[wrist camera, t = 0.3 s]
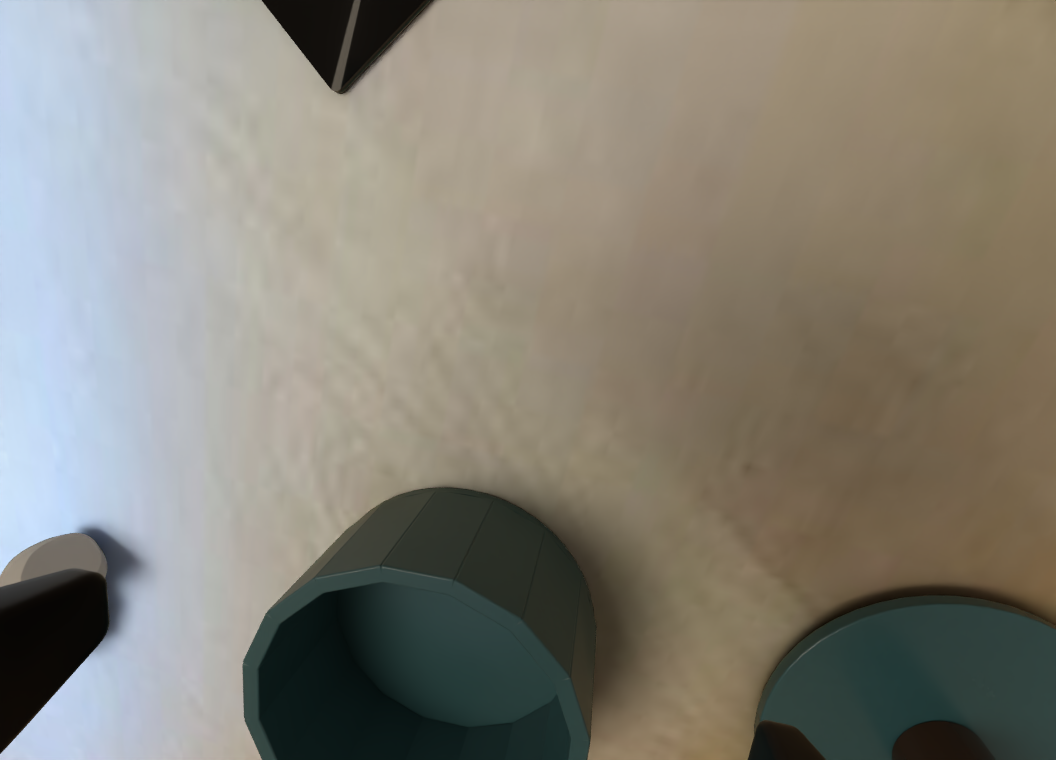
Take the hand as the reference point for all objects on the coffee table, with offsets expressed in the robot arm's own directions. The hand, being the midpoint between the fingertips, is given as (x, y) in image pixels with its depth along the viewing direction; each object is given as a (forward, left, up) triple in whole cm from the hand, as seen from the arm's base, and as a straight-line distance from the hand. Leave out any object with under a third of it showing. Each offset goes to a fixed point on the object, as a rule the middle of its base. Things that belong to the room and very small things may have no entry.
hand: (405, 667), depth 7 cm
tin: (-10, +3, -14) cm, 18 cm away
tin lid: (-11, -16, -14) cm, 24 cm away
